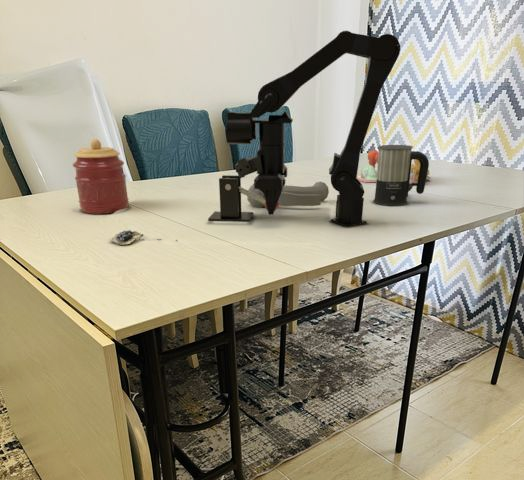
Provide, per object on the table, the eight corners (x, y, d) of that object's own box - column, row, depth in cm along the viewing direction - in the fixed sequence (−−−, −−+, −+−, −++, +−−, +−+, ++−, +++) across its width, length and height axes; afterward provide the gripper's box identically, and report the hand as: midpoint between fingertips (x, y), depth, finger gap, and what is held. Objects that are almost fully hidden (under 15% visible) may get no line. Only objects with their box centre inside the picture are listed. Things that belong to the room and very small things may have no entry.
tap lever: (275, 212, 127) (281, 199, 126) (274, 215, 124) (280, 202, 123) (223, 187, 126) (228, 174, 124) (221, 190, 123) (226, 176, 121)
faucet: (331, 197, 155) (321, 216, 133) (264, 192, 159) (243, 210, 136) (333, 173, 152) (324, 189, 129) (264, 169, 156) (243, 183, 133)
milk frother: (380, 206, 140) (386, 148, 133) (359, 195, 153) (363, 142, 146) (428, 204, 142) (437, 147, 135) (403, 193, 156) (409, 140, 149)
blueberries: (146, 234, 116) (145, 226, 115) (139, 244, 109) (138, 235, 108) (115, 235, 116) (114, 226, 115) (107, 245, 108) (106, 236, 108)
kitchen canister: (125, 214, 134) (116, 141, 126) (75, 215, 133) (62, 142, 125) (132, 203, 146) (124, 136, 138) (86, 204, 145) (75, 137, 137)
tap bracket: (253, 216, 131) (252, 174, 126) (249, 224, 124) (248, 180, 119) (214, 216, 132) (212, 174, 127) (208, 223, 125) (205, 179, 120)
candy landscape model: (429, 175, 184) (433, 147, 180) (433, 187, 164) (437, 156, 159) (358, 173, 189) (360, 146, 185) (353, 184, 169) (356, 154, 164)
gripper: (243, 139, 127) (244, 203, 135) (230, 149, 111) (232, 221, 118) (287, 140, 126) (287, 204, 134) (281, 149, 110) (281, 222, 117)
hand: (271, 212), depth 126 cm, fingers closed on tap lever, 3 cm apart
